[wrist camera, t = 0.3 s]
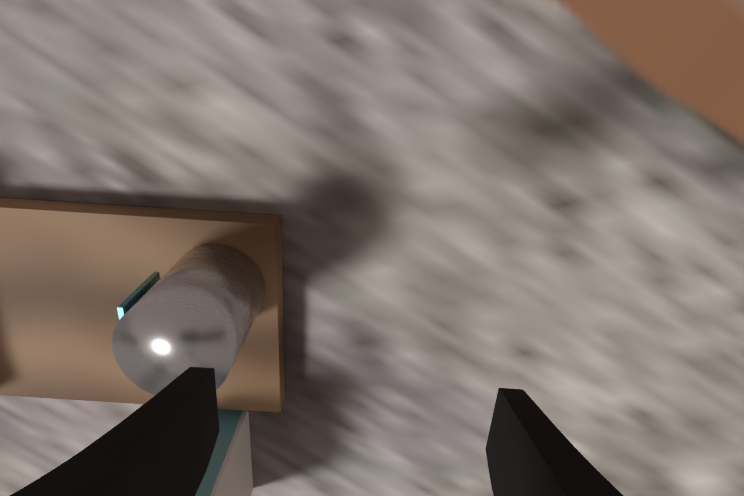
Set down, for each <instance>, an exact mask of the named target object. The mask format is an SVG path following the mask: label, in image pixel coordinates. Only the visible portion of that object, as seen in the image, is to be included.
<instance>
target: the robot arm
mask: <svg viewBox="0 0 744 496" xmlns="http://www.w3.org/2000/svg"><path fill="white" fill-rule="evenodd" d="M219 431H220V430H219V418H218V406H217V394H216V382H215V370H214V368H202V367H189V368H188V369H187V370H186V371H184V372H183V373H182V374H181V375H179V376H178V377H177V378H176V379H174V380H173V381H172V382H171V383H169V384H168V385H167V386H166V387H165V388H163V389H162V390H161V391H160V392H158V393H157V394H156V395H155V396H153V397H152V398H151V399H150V400H149V401H147V402H146V403H145V404H144V405H142V406H141V407H140V408H139V409H137V410H136V411H135V412H133V413H132V414H131V415H130V416H128V417H127V418H126V419H125V420H123V421H122V422H121V423H119V424H118V425H117V426H115V427H114V428H113V429H111V430H110V431H108V432H107V433H106V434H104V435H103V436H102V437H100V438H99V439H97V440H96V441H95V442H93V443H92V444H91V445H89V446H88V447H86V448H85V449H84V450H82V451H81V452H79V453H78V454H76V455H75V456H73V457H72V458H70V459H69V460H67V461H66V462H64V463H63V464H61V465H60V466H58V467H57V468H55V469H54V470H52V471H50V472H49V473H47V474H45V475H44V476H42V477H41V478H39V479H37V480H36V481H34V482H33V483H31V484H29V485H28V486H26V487H24V488H23V489H21V490H19V491H17V492H15V493H14V494H12V495H10V496H195V495H196V492H197V490H198V488H199V486H200V484H201V482H202V479H203V477H204V475H205V473H206V470H207V468H208V465H209V462H210V459H211V456H212V453H213V450H214V447H215V444H216V440H217V437H218V434H219ZM486 454H487V461H488V467H489V474H490V479H491V485H492V490H493V494H494V496H623V495H622V494H621V493H620V492H619V491H618V490H617V489H616V488H615V487H614V486H613V485H612V484H611V483H610V482H609V481H608V480H607V479H605V478H604V477H603V476H602V475H601V474H600V473H599V472H598V471H597V470H596V469H595V468H594V467H593V466H592V465H591V464H590V463H589V462H588V461H587V460H586V459H585V458H584V457H583V455H582V454H581V453H580V452H579V451H578V450H577V449H576V448H575V447H574V446H573V445H572V444H571V443H570V442H569V441H568V440H567V438H566V437H565V436H564V435H563V434H562V433H561V432H560V431H559V430H558V429H557V427H556V426H555V425H554V424H553V423H552V422H551V421H550V420H549V418H548V417H547V416H546V415H545V414H544V413H543V412H542V410H541V409H540V408H539V407H538V406H537V405H536V404H535V403H534V401H533V400H532V399H531V398H530V397H529V396H528V395H527V394H526V392H525V391H524V390H521V389H507V388H499V390H498V394H497V399H496V403H495V408H494V413H493V417H492V422H491V427H490V431H489V436H488V441H487V445H486Z"/></svg>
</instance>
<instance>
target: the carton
mask: <svg viewBox="0 0 744 496" xmlns="http://www.w3.org/2000/svg"><path fill="white" fill-rule="evenodd" d="M218 418H219V430H220V431H219V434H218V437H217V440H216V444H215V447H214V450H213V453H212V456H211V459H210V462H209V465H208V468H207V470H206V473H205V475H204V477H203V479H202V482H201V484H200V486H199V488H198V490H197V492H196V495H195V496H251V494H252V490H253V476H252V460H251V444H250V428H249V412H248V411H247V410H231V409H218Z"/></svg>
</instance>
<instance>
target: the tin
mask: <svg viewBox="0 0 744 496" xmlns="http://www.w3.org/2000/svg"><path fill="white" fill-rule="evenodd" d="M265 294H266V286H265V280H264V277H263V274H262V272H261V270H260V269H259V267H258V266H257V264H256V263H255V262H254V261H253V260H252V259H251V258H250V257H249V256H248V255H247V254H245V253H244V252H242V251H241V250H239V249H237V248H235V247H232V246H229V245H225V244H219V243H209V244H203V245H199V246H197V247H194V248H192V249H191V250H189V251H188V252H187V253H185V254H184V255H183V256H182V257H181V258H180V259H179V260H178V261H177V262H176V263H175V264H174V265H173V266H172V267H171V268H170V269H169V270H168V271H167V272H166V273H165V274H164V275H163V276H162V277H161V278H160V273H159V272H154V273H153V274H151V275H150V276H149V277H148V278H147V279H146V280H145V281H144V282H143V283H142V284H141V285H140V286H139V287H138V288H137V289H136V290H135V291H134V292H133V293H131V294H130V295H129V296H128V297H127V298H126V299H125V300H124V301H123V302H122V303H121V304H120V305H119V306H118V307H117V311H118V317H119V322H118V323H117V325H116V327H115V329H114V332H113V336H112V348H113V353H114V357H115V359H116V361H117V363H118V365H119V367H120V369H121V370H122V371H123V373H124V374H125V375H126V376H127V377H128V378H129V379H130V380H131V381H132V382H133V383H134V384H136V385H137V386H138V387H140V388H141V389H143V390H145V391H147V392H149V393H151V394H153V395H156V394H157V393H158V392H160V391H161V390H162V389H163V388H165V387H166V386H167V385H168V384H169V383H171V382H172V381H173V380H174V379H176V378H177V377H178V376H179V375H181V374H182V373H183V372H184V371H186V370H187V369H188V368H189V367H202V368H214V370H215V382H216V390H217V389H218V388H219V387H220V386H221V385H222V384H223V383H224V381H225V380H226V378H227V376H228V374H229V372H230V370H231V368H232V366H233V364H234V362H235V360H236V357H237V355H238V353H239V351H240V349H241V347H242V345H243V343H244V341H245V339H246V337H247V335H248V333H249V331H250V329H251V327H252V325H253V322H254V320H255V318H256V316H257V314H258V312H259V310H260V308H261V306H262V304H263V301H264V299H265Z"/></svg>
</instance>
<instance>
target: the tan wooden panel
mask: <svg viewBox="0 0 744 496" xmlns="http://www.w3.org/2000/svg"><path fill="white" fill-rule="evenodd" d="M209 243H219V244H225V245H229V246H232V247H235V248H237V249H239V250H241V251H242V252H244V253H245V254H247V255H248V256H249V257H250V258H251V259H252V260H253V261H254V262H255V263H256V264H257V266H258V267H259V269H260V270H261V272H262V274H263V277H264V280H265V286H266V294H265V299H264V301H263V304H262V306H261V308H260V310H259V312H258V314H257V316H256V318H255V320H254V322H253V325H252V327H251V329H250V331H249V333H248V335H247V337H246V339H245V341H244V343H243V345H242V347H241V349H240V351H239V353H238V355H237V357H236V360H235V362H234V364H233V366H232V368H231V370H230V372H229V374H228V376H227V378H226V380H225V381H224V383H223V384H222V385H221V386H220V387H219V388H218V389H217V390H216V394H217V406H218V409H231V410H247V411H263V412H279V413H280V412H281V409H282V405H283V402H284V398H285V363H284V316H283V268H282V221H281V215H267V214H251V213H235V212H220V211H204V210H188V209H172V208H156V207H140V206H124V205H108V204H92V203H76V202H60V201H44V200H28V199H12V198H0V395H7V396H23V397H39V398H55V399H71V400H87V401H103V402H119V403H135V404H145V403H146V402H147V401H149V400H150V399H151V398H152V397H153V396H155V395H153V394H151V393H149V392H147V391H145V390H143V389H141V388H140V387H138V386H137V385H136V384H134V383H133V382H132V381H131V380H130V379H129V378H128V377H127V376H126V375H125V374H124V373H123V371H122V370H121V369H120V367H119V365H118V363H117V361H116V359H115V357H114V353H113V348H112V336H113V332H114V329H115V327H116V325H117V323H118V322H119V317H118V311H117V307H118V306H119V305H120V304H121V303H122V302H123V301H124V300H125V299H126V298H127V297H128V296H129V295H130V294H131V293H133V292H134V291H135V290H136V289H137V288H138V287H139V286H140V285H141V284H142V283H143V282H144V281H145V280H146V279H147V278H148V277H149V276H150V275H151V274H153V273H154V272H159V273H160V278H161V277H162V276H163V275H164V274H165V273H166V272H167V271H168V270H169V269H170V268H171V267H172V266H173V265H174V264H175V263H176V262H177V261H178V260H179V259H180V258H181V257H182V256H183V255H184V254H185V253H187V252H188V251H189V250H191V249H192V248H194V247H197V246H199V245H203V244H209Z"/></svg>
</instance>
